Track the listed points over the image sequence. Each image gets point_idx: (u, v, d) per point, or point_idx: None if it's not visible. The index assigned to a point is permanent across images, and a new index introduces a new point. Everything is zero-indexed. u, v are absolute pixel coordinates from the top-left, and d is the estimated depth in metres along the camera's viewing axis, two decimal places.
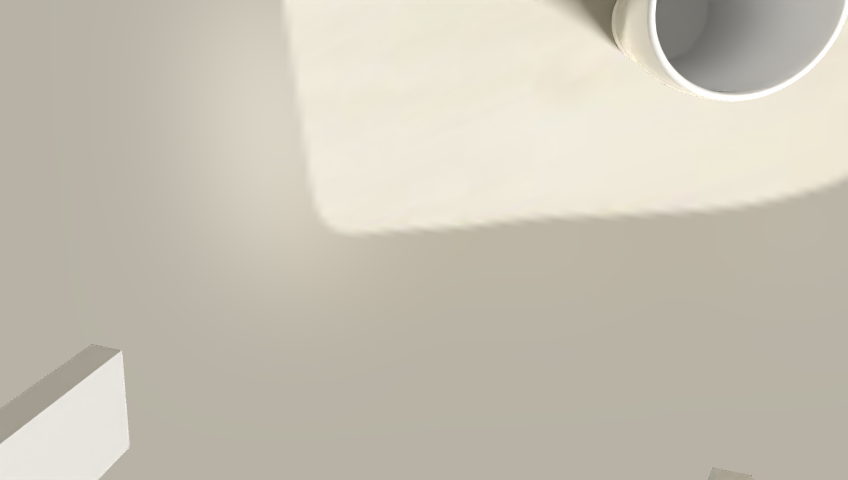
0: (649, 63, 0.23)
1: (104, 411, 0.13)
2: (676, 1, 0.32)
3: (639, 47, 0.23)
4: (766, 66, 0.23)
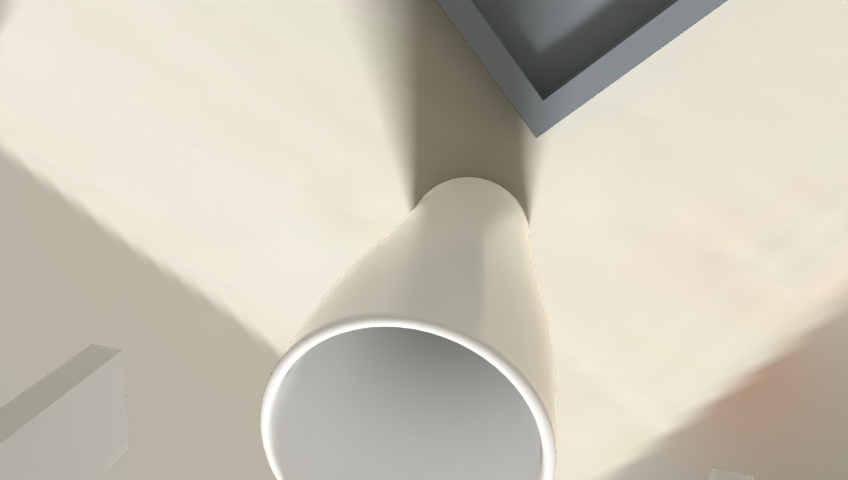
0: None
1: (104, 411, 0.13)
2: None
3: None
4: (427, 464, 0.17)
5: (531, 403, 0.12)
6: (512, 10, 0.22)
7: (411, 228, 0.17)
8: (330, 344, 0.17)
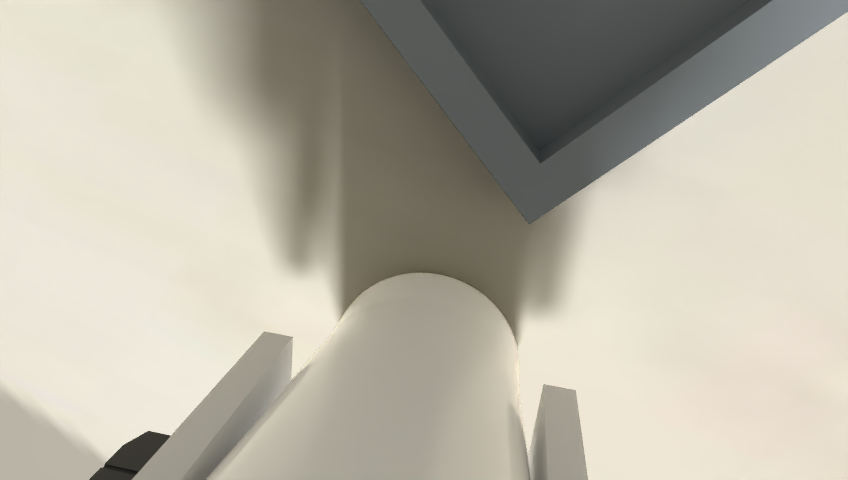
0: None
1: (280, 392, 0.14)
2: None
3: None
4: None
5: None
6: (488, 9, 0.13)
7: (262, 479, 0.08)
8: None
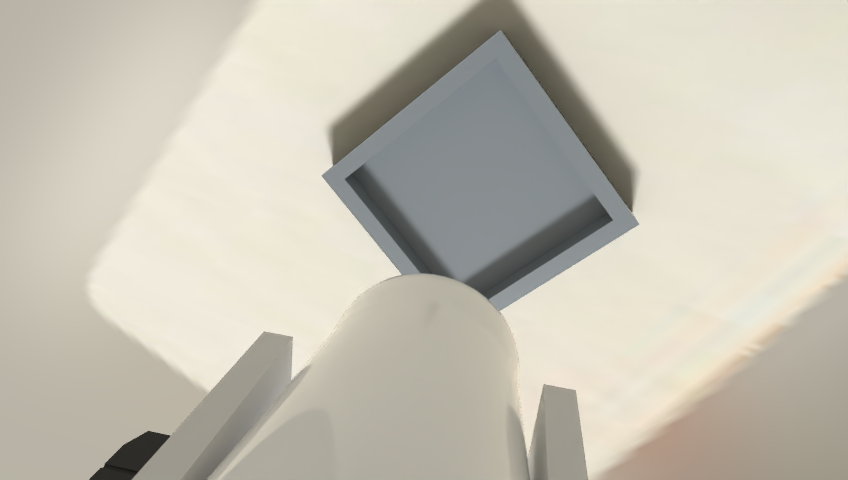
0: None
1: (280, 392, 0.14)
2: None
3: None
4: None
5: None
6: (439, 260, 0.36)
7: None
8: None
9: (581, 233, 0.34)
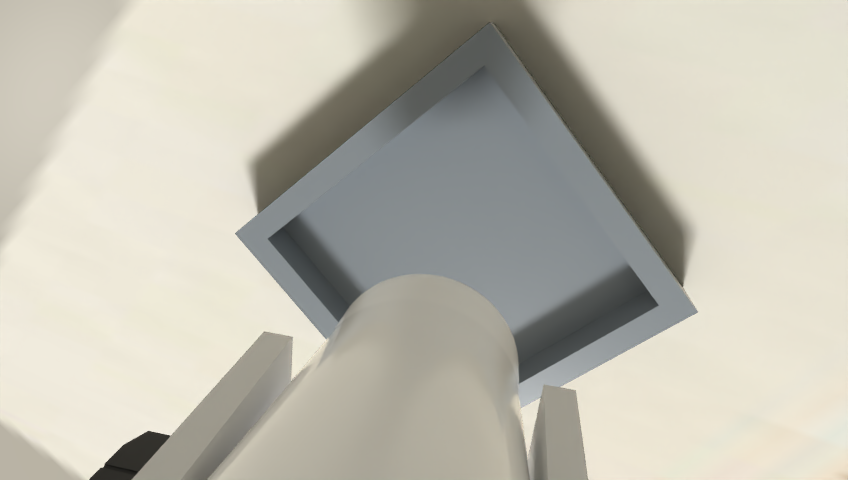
0: None
1: (280, 392, 0.14)
2: None
3: None
4: None
5: None
6: None
7: None
8: None
9: (609, 318, 0.23)
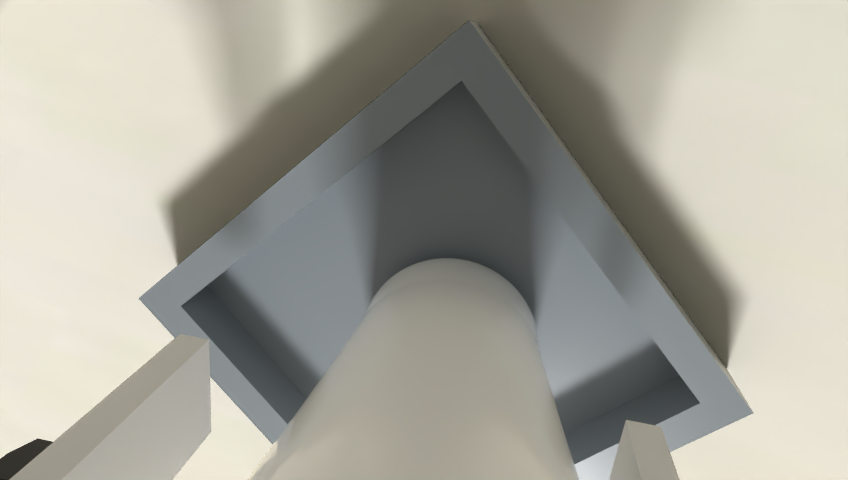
0: None
1: (194, 397, 0.14)
2: None
3: None
4: None
5: None
6: None
7: (351, 421, 0.09)
8: None
9: (631, 411, 0.18)
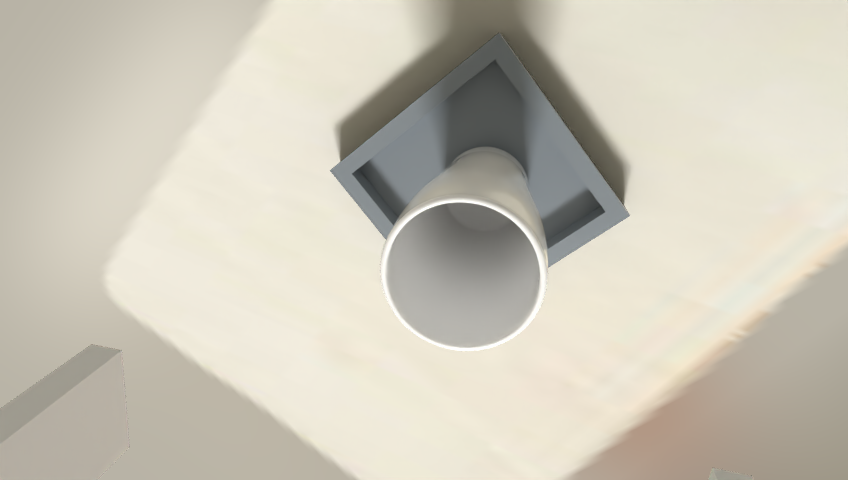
0: None
1: (104, 411, 0.13)
2: None
3: None
4: (467, 312, 0.27)
5: (534, 243, 0.22)
6: None
7: (457, 167, 0.27)
8: (406, 239, 0.27)
9: (575, 224, 0.36)
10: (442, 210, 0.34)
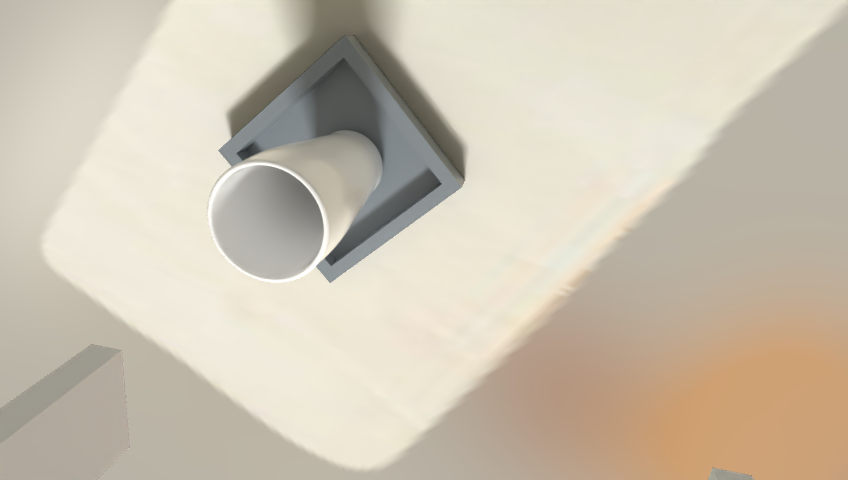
0: None
1: (104, 411, 0.13)
2: None
3: None
4: (294, 257, 0.33)
5: (315, 196, 0.29)
6: None
7: None
8: (248, 200, 0.34)
9: (423, 196, 0.43)
10: None
